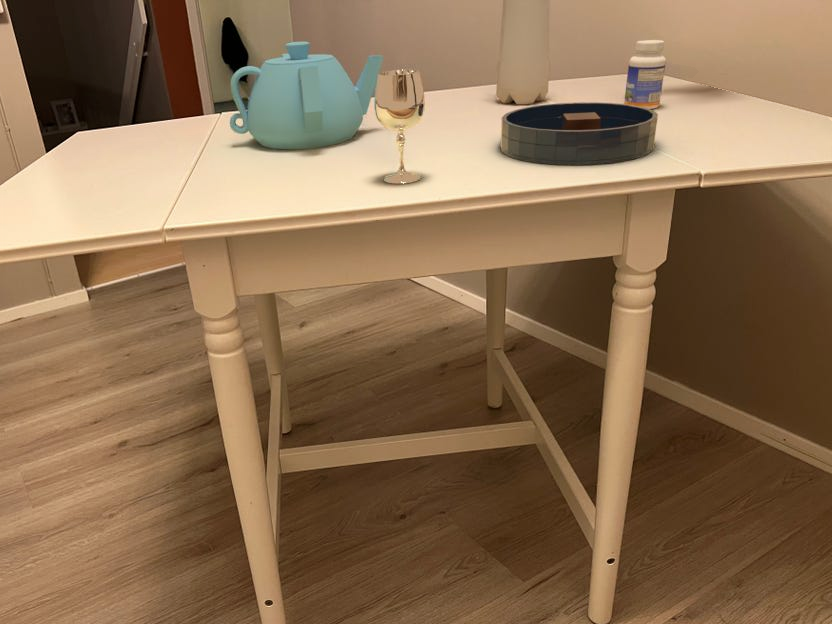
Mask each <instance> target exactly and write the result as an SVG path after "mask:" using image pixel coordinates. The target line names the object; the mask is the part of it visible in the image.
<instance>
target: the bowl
mask: <svg viewBox="0 0 832 624" xmlns="http://www.w3.org/2000/svg"><path fill="white" fill-rule="evenodd" d="M592 112H595V113H596V114H597V115H598V116H599V117H600V118H601V121H600V129H598V130H562V122H563V114H570V113H592ZM658 117H659V114H658V113H657V112H656V111H655V110H654V109H647V108H644V107H639V106H634V105H627V104H624V103H615V102H594V101H593V102H578V101H577V102H560V103H548V104H539V105H534V106H525V107H522V108H518V109H514V110H512V111H508V112H506V113H505V114H503V116H501V118H500V119H501V120H500V121H501V122H500V123H501V124H500V150H501V152H502V153H503V154H504V155H506V156H508V157H509V158H512V159H516V160H519V161H522V162H529V163H535V164H544V165H556V166H591V165H593V166H594V165H605V164H615V163H621V162H626V161H631V160H636V159H639V158H642V157H645V156H646V155H648V154H650V153H651V152H653V150H654V147H655V139H656V133H657V124H658Z"/></svg>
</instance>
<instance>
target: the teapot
mask: <svg viewBox="0 0 832 624" xmlns="http://www.w3.org/2000/svg"><path fill="white" fill-rule="evenodd" d="M284 46H285V49H286V51H287V53H281V57H276V58H275V57H274V58H270V59H267V60H265V61H264V62H263V63H262V65H261V67H260V68H259V67H256V66H253V65H247V66H243V67H240V68H239V69H237V70H236V71H235V72H234V73H233V74H232V76H231V79H230V85H229V86H230V92H231V95H232V98H233V100H234V102H235V105H236V108H237V111H238V113H237V112H236V113H233V115H231V116H230V119H229V127H230V130H231V131H233V132H234V133H236V134H239V135H244V134H246V133H249V134H250V135H251V136H252V137H253V138H254V139H255V141H256V142H258V143H259V145H261V146H262V147H265V148H269V149H274V150H306V149H315V148H316V149H317V148H322V147H328V146H329V147H330V146H334V145H339V144H342V143H345V142H347V141H349V140H351V139H352V138H353V137H354V136H355V134H356V133H357V132H358V130H359V128H360V127H361V125H362V123H363V120H364V115H367V113H368V110H369V106H370V103H371V100H372V96H373V93H374V91H375V88H376V81H377V76H378V73H380V71H381V67H382V63H383V61H384V55H382V54H381V55H379V54H378V55H368V57H367V58H368V59H367V61H366V63H365V65H364V67H363V69H362V71H361V73H360V76H359V77H358V80H357V82H356V85H354V83H353V81H352V80H351V78H350V76H349V75H348V73H347V72H346V70H345V69H344V67H343V66H342V64H341V63H340V62H339V60H338V59H337V58H336V57H335V56H334V55H333V54H323V53H321V54H319V53H318V54H309V52H310V47H311V42H309V41H293V42H288V43H285V45H284ZM246 75H254V76H256V78H255V80H254V83H253V85H252V87H251V90H250V93H249V98H248V101H247V108H246V105H245V104H244V101H243V99H242V96H241V93H240V89H239V81H240V79H241V78H242V77H244V76H246ZM238 119H241V120H242V125H241V126H240V125H238V124H237V120H238Z"/></svg>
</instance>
